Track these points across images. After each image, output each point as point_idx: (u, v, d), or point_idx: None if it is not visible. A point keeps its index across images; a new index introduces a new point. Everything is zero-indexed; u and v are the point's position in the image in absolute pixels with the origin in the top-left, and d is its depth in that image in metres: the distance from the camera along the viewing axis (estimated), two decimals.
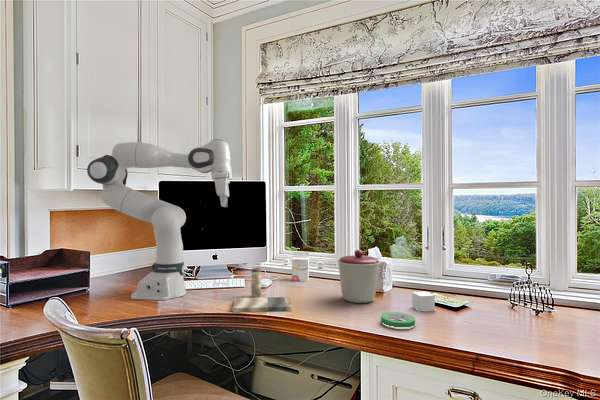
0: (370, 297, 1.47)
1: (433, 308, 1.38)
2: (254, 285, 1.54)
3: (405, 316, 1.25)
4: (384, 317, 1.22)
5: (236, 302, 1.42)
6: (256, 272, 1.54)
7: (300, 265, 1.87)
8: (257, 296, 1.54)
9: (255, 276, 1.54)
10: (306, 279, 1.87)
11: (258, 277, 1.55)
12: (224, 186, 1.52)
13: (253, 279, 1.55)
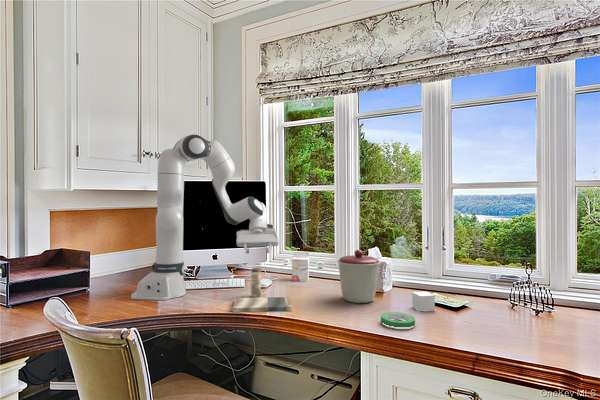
0: (370, 297, 1.47)
1: (433, 308, 1.38)
2: (254, 285, 1.54)
3: (405, 316, 1.25)
4: (384, 317, 1.22)
5: (236, 302, 1.42)
6: (256, 272, 1.54)
7: (300, 265, 1.87)
8: (257, 296, 1.54)
9: (255, 276, 1.54)
10: (306, 279, 1.87)
11: (258, 277, 1.55)
12: None
13: (253, 279, 1.55)
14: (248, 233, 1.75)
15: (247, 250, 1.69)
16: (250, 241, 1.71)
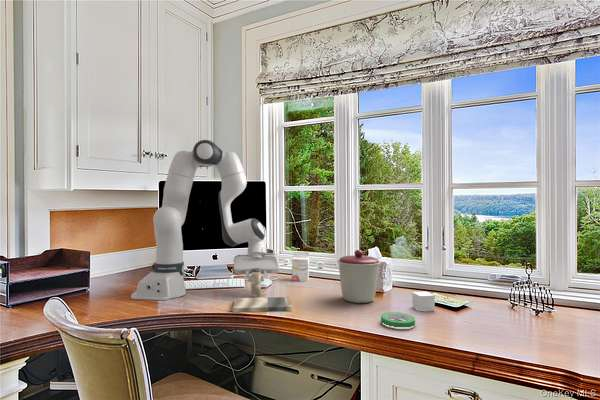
0: (370, 297, 1.47)
1: (433, 308, 1.38)
2: (254, 285, 1.54)
3: (405, 316, 1.25)
4: (384, 317, 1.22)
5: (236, 302, 1.42)
6: (256, 272, 1.54)
7: (300, 265, 1.87)
8: (257, 296, 1.55)
9: (255, 276, 1.54)
10: (306, 279, 1.87)
11: (258, 277, 1.55)
12: None
13: (253, 279, 1.55)
14: (246, 259, 1.62)
15: (250, 278, 1.56)
16: (248, 268, 1.58)
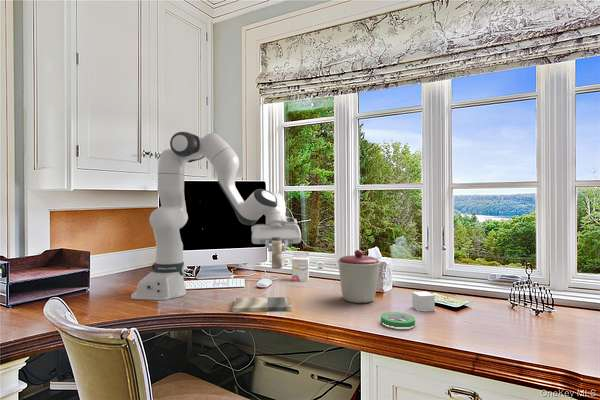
0: (370, 297, 1.47)
1: (433, 308, 1.38)
2: (275, 255, 1.42)
3: (405, 316, 1.25)
4: (384, 317, 1.22)
5: (236, 302, 1.42)
6: (277, 240, 1.42)
7: (300, 265, 1.87)
8: (278, 267, 1.42)
9: (276, 245, 1.42)
10: (306, 279, 1.87)
11: (279, 246, 1.42)
12: None
13: (274, 248, 1.42)
14: (265, 228, 1.49)
15: (270, 248, 1.43)
16: (268, 237, 1.46)
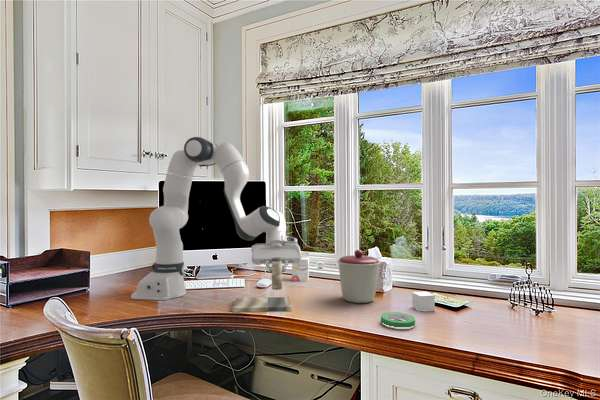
0: (370, 297, 1.47)
1: (433, 308, 1.38)
2: (275, 276, 1.41)
3: (405, 316, 1.25)
4: (384, 317, 1.22)
5: (236, 302, 1.42)
6: (277, 261, 1.41)
7: (300, 265, 1.87)
8: (278, 288, 1.41)
9: (276, 266, 1.41)
10: (306, 279, 1.87)
11: (279, 267, 1.42)
12: None
13: (274, 269, 1.41)
14: (265, 248, 1.49)
15: (270, 268, 1.43)
16: (268, 258, 1.45)
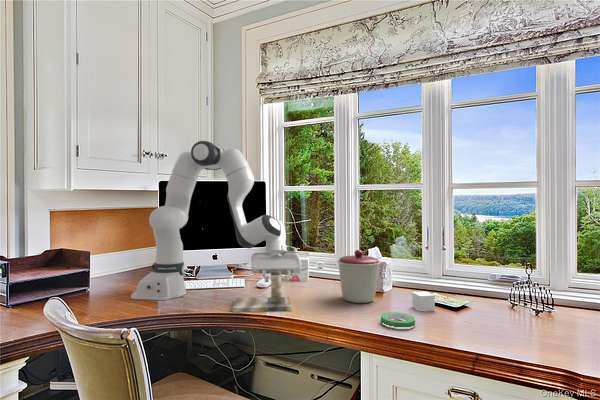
0: (370, 297, 1.47)
1: (433, 308, 1.38)
2: (274, 290, 1.41)
3: (405, 316, 1.25)
4: (384, 317, 1.22)
5: (236, 302, 1.42)
6: (276, 275, 1.41)
7: None
8: (278, 301, 1.41)
9: (275, 279, 1.41)
10: (306, 279, 1.87)
11: (278, 280, 1.41)
12: None
13: (273, 283, 1.41)
14: (265, 257, 1.49)
15: (266, 278, 1.43)
16: (268, 268, 1.45)
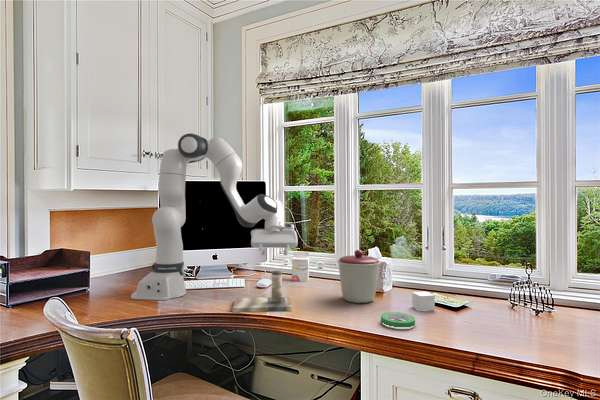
0: (370, 297, 1.47)
1: (433, 308, 1.38)
2: (274, 290, 1.41)
3: (405, 316, 1.25)
4: (384, 317, 1.22)
5: (236, 302, 1.42)
6: (277, 275, 1.41)
7: (300, 265, 1.87)
8: (278, 301, 1.41)
9: (276, 279, 1.41)
10: (306, 279, 1.87)
11: (279, 280, 1.42)
12: None
13: (274, 282, 1.42)
14: (264, 232, 1.58)
15: (263, 251, 1.52)
16: (266, 242, 1.55)
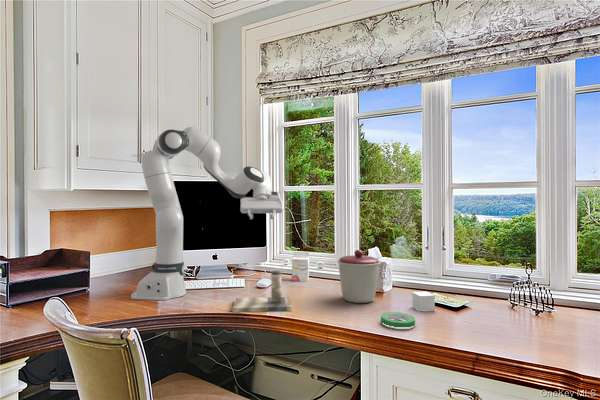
0: (370, 297, 1.47)
1: (433, 308, 1.38)
2: (274, 289, 1.41)
3: (405, 316, 1.25)
4: (384, 317, 1.22)
5: (236, 302, 1.42)
6: (277, 275, 1.41)
7: (300, 265, 1.87)
8: (278, 301, 1.41)
9: (275, 279, 1.41)
10: (306, 279, 1.87)
11: (279, 280, 1.42)
12: None
13: (273, 282, 1.42)
14: (252, 200, 1.73)
15: (251, 216, 1.66)
16: (254, 207, 1.69)
